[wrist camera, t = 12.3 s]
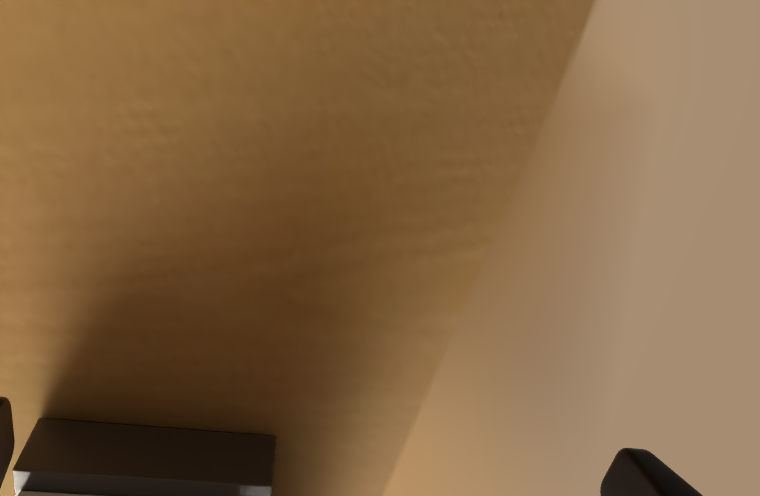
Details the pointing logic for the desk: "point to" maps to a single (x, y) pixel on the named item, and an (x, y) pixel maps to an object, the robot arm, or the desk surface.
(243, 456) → the scale
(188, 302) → the desk surface
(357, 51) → the desk surface
